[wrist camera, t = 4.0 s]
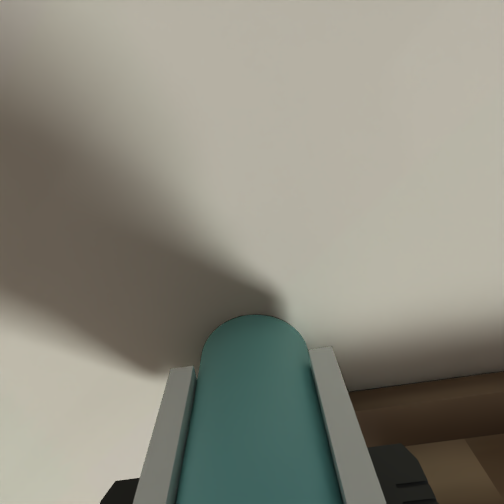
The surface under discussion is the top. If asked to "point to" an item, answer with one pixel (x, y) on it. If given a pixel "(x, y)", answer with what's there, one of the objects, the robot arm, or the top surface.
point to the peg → (256, 421)
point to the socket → (443, 432)
